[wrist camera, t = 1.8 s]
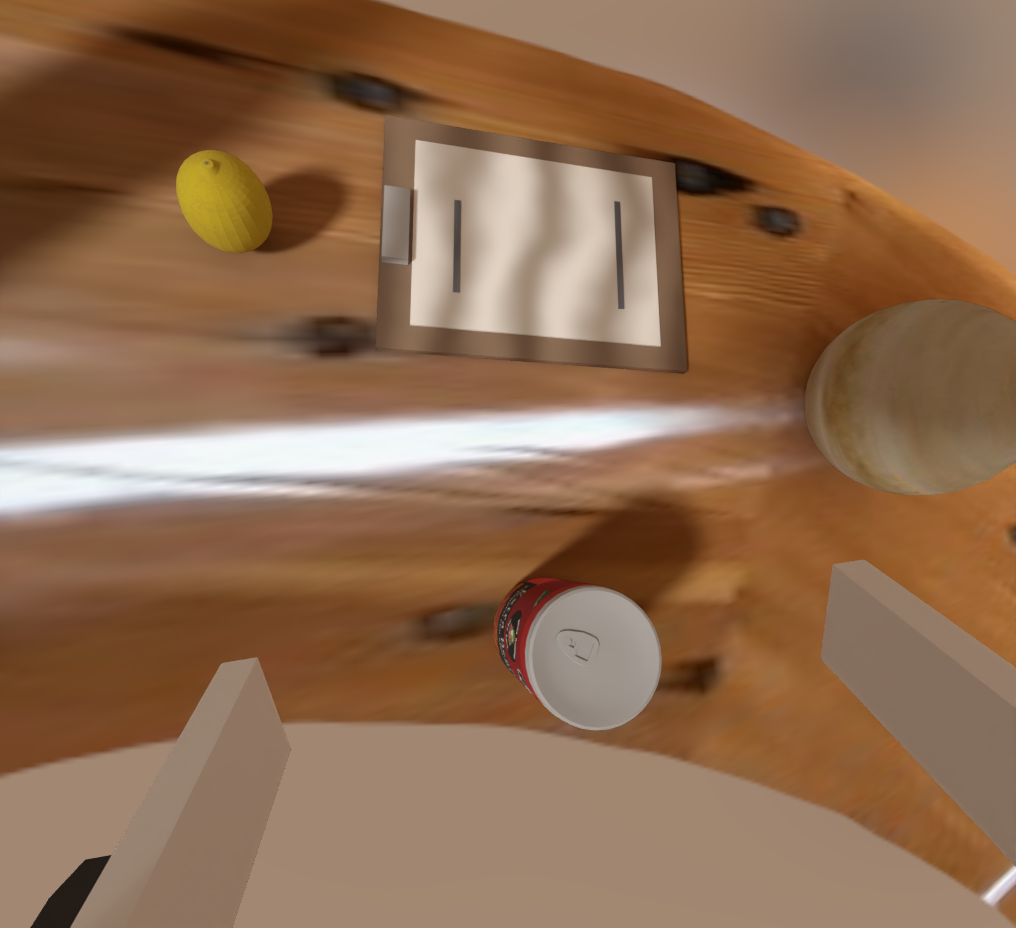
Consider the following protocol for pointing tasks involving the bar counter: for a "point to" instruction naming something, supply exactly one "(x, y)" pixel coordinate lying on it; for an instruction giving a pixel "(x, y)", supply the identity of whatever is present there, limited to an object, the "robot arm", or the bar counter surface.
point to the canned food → (579, 650)
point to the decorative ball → (918, 397)
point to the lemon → (224, 201)
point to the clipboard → (527, 251)
